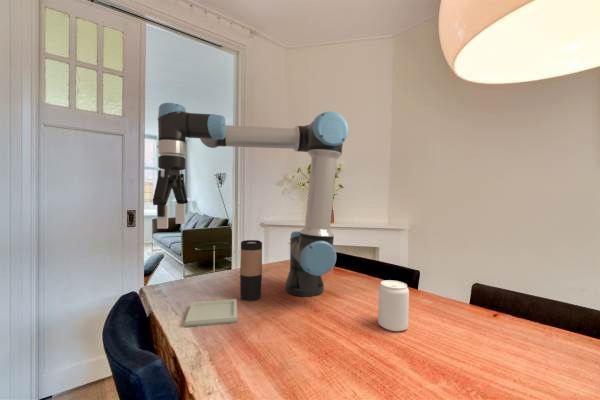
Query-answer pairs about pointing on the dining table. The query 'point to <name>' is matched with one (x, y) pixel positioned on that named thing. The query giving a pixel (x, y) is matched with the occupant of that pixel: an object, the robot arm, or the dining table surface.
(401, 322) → the beverage can
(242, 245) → the travel mug
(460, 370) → the dining table surface
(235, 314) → the tray
